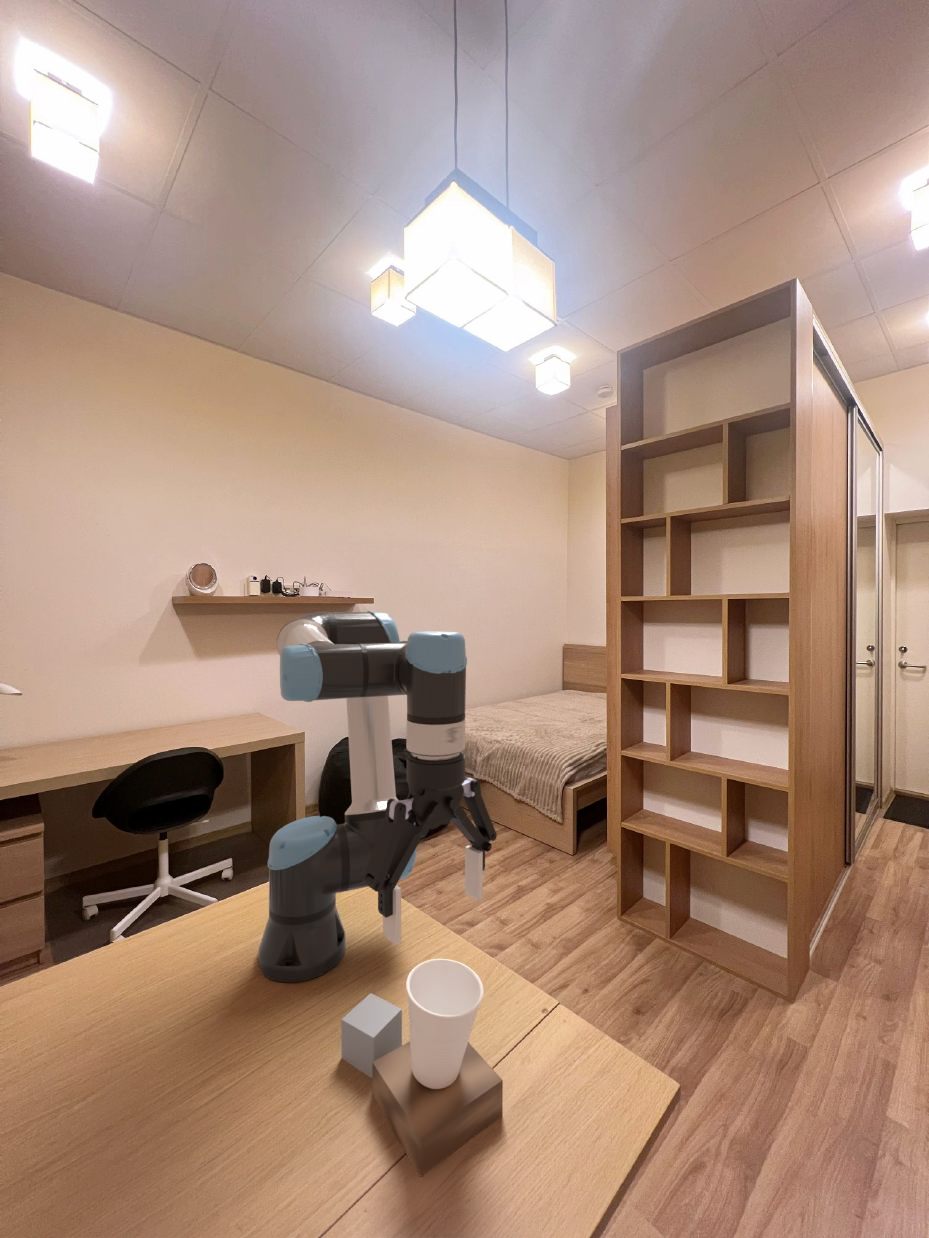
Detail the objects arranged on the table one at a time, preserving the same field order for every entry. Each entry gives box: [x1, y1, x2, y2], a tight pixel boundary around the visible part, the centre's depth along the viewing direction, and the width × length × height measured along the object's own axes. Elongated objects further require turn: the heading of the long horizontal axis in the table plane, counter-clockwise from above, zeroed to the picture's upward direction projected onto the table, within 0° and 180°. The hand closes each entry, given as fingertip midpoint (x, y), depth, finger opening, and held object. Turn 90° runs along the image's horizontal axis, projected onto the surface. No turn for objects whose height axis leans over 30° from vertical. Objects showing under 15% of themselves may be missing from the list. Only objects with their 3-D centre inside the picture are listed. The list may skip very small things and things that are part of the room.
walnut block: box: [371, 1040, 504, 1178], centre depth 66 cm, size 12×12×5 cm
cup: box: [405, 958, 485, 1089], centre depth 65 cm, size 10×10×11 cm
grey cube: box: [340, 992, 403, 1079], centre depth 73 cm, size 6×6×6 cm
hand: (435, 916), depth 66 cm, fingers open, 13 cm apart
